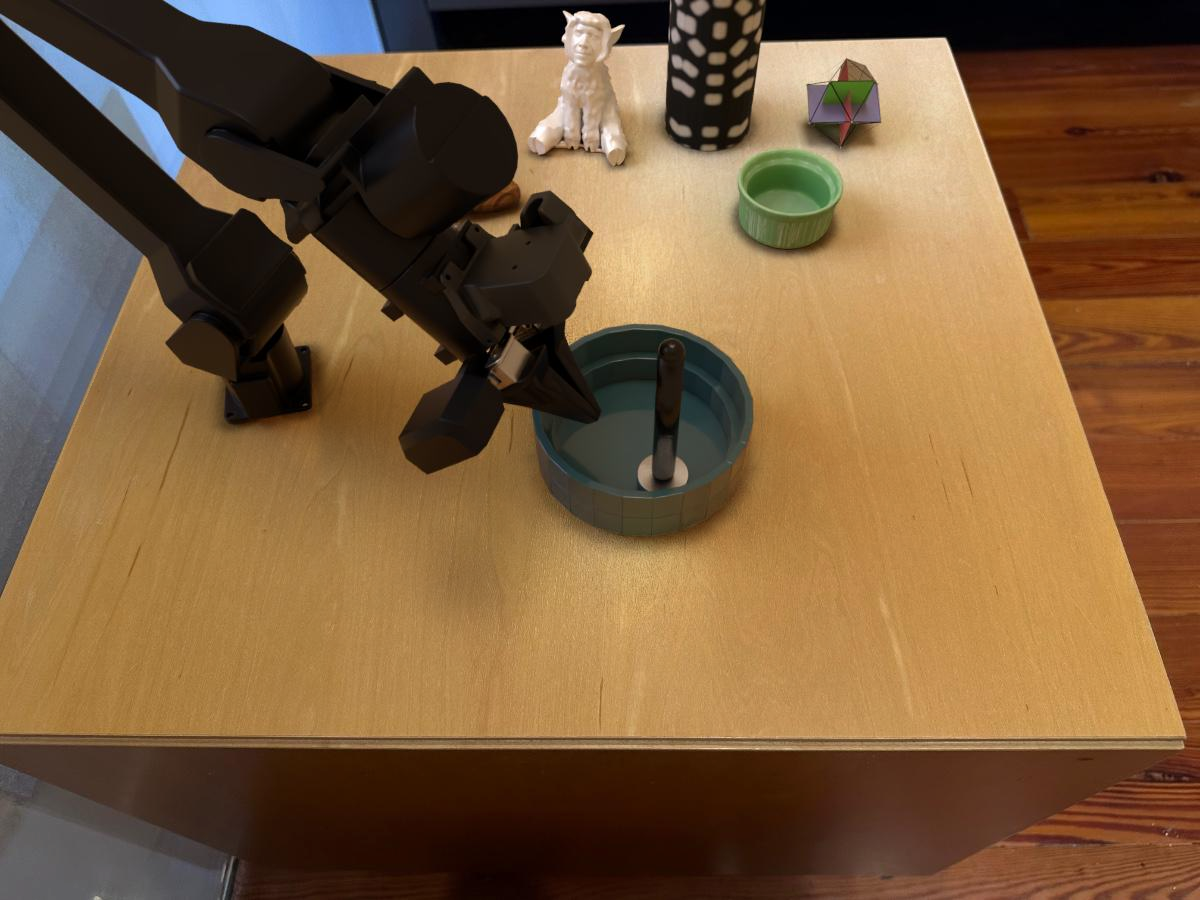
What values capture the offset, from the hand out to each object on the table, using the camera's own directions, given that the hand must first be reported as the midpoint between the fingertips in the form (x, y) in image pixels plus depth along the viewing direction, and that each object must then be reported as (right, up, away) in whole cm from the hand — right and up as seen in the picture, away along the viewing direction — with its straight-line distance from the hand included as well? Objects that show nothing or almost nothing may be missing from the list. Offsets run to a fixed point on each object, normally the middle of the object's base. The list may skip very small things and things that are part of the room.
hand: (595, 418), depth 59 cm
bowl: (+3, -2, +8) cm, 9 cm away
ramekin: (+17, +18, +23) cm, 34 cm away
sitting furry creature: (-1, +29, +30) cm, 42 cm away
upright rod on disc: (+5, -4, +5) cm, 8 cm away
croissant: (-14, +21, +25) cm, 35 cm away
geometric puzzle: (+23, +29, +30) cm, 48 cm away
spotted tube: (+11, +30, +31) cm, 44 cm away
